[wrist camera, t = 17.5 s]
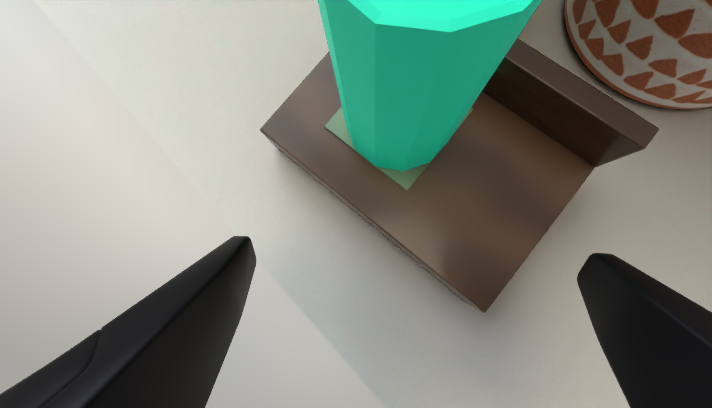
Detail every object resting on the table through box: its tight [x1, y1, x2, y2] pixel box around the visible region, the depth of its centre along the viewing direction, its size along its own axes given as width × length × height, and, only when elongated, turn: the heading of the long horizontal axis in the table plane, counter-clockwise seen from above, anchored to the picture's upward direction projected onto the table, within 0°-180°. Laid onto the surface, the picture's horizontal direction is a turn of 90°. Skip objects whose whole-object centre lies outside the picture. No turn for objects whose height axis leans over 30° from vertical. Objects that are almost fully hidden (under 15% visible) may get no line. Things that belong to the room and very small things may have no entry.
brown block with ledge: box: [260, 38, 659, 313], centre depth 17 cm, size 11×16×6 cm
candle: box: [318, 0, 542, 171], centre depth 11 cm, size 6×6×12 cm
